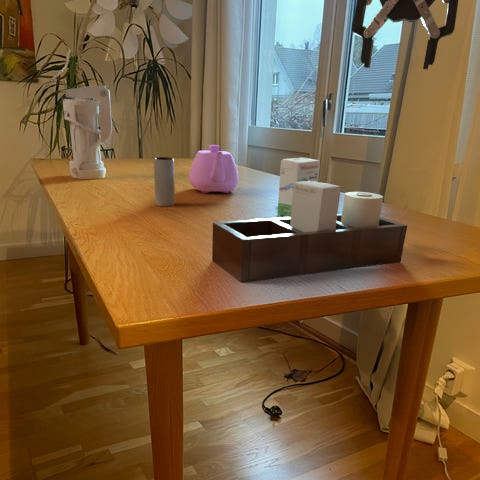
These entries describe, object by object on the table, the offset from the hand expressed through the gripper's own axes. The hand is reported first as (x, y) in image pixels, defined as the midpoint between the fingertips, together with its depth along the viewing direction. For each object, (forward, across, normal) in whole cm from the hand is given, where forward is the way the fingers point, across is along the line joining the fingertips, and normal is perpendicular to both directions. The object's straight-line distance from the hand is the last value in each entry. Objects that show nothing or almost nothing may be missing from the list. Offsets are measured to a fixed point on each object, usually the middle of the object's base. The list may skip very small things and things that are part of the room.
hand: (395, 68), depth 72 cm
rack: (+28, -8, -12) cm, 32 cm away
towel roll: (+28, -2, -6) cm, 29 cm away
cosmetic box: (+28, -8, -12) cm, 32 cm away
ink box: (+28, -18, +22) cm, 40 cm away
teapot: (+28, -45, +39) cm, 66 cm away
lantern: (+28, -86, +42) cm, 100 cm away
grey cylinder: (+28, -48, +16) cm, 58 cm away
